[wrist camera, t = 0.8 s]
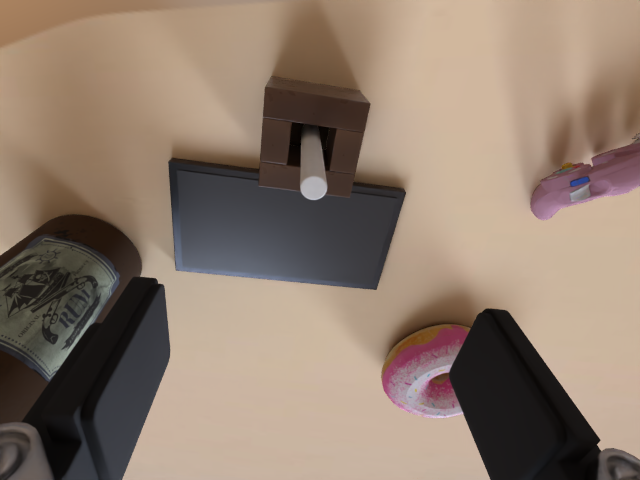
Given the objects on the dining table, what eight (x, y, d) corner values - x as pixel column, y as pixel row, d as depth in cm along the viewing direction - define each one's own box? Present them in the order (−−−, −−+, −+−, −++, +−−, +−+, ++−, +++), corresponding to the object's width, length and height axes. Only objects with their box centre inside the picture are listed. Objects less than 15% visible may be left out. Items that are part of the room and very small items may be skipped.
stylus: (302, 118, 28) (301, 173, 18) (320, 121, 28) (329, 177, 18) (300, 136, 29) (298, 198, 19) (317, 138, 29) (325, 202, 19)
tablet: (171, 157, 29) (167, 161, 28) (403, 188, 32) (406, 193, 31) (178, 265, 35) (175, 271, 34) (374, 284, 37) (376, 290, 36)
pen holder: (271, 76, 26) (265, 86, 22) (360, 90, 27) (370, 103, 23) (264, 163, 30) (258, 186, 26) (343, 173, 31) (350, 198, 26)
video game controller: (626, 132, 31) (697, 114, 24) (643, 180, 32) (718, 176, 25) (513, 176, 33) (549, 171, 26) (529, 222, 33) (570, 229, 26)
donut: (513, 346, 43) (535, 381, 39) (433, 402, 49) (445, 438, 44) (437, 297, 39) (453, 331, 34) (358, 365, 44) (363, 402, 40)
